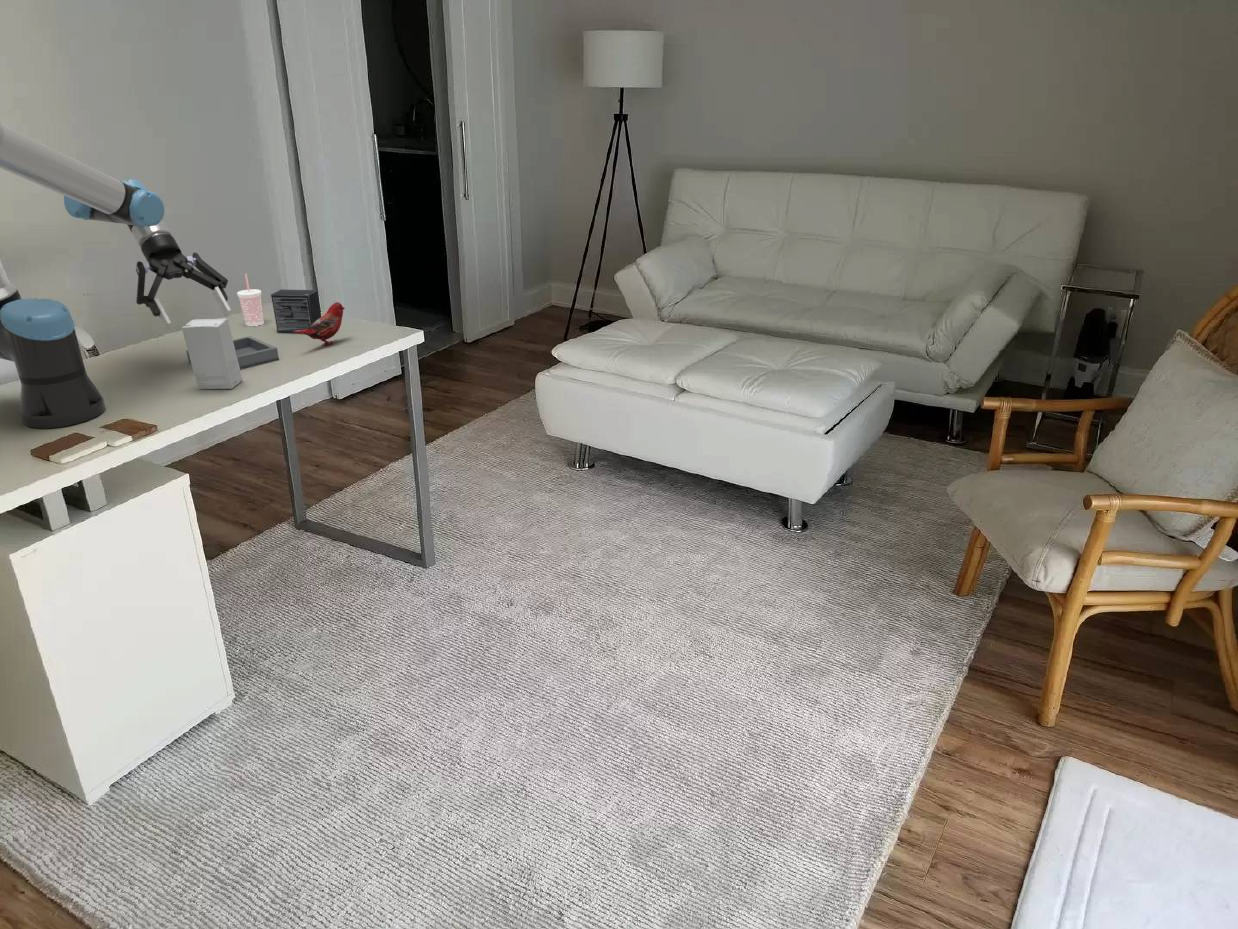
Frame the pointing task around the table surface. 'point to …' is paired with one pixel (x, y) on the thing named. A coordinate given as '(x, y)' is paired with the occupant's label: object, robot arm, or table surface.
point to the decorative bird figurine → (325, 325)
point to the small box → (295, 309)
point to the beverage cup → (251, 305)
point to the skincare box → (212, 353)
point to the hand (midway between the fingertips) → (199, 319)
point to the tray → (252, 352)
